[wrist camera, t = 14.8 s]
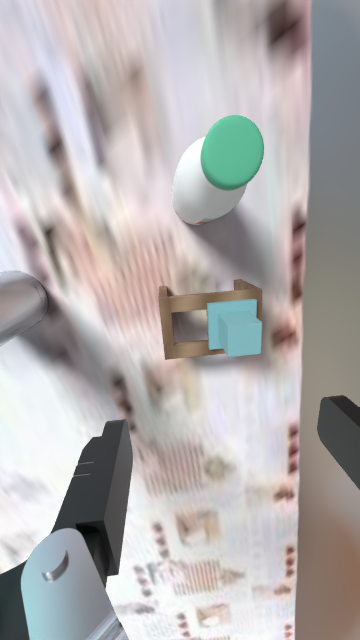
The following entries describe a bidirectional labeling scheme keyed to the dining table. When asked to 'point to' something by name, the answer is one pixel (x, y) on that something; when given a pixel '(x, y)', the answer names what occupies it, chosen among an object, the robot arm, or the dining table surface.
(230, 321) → the teal peg
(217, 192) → the milk bottle
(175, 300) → the brown keyhole frame
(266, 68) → the dining table surface
